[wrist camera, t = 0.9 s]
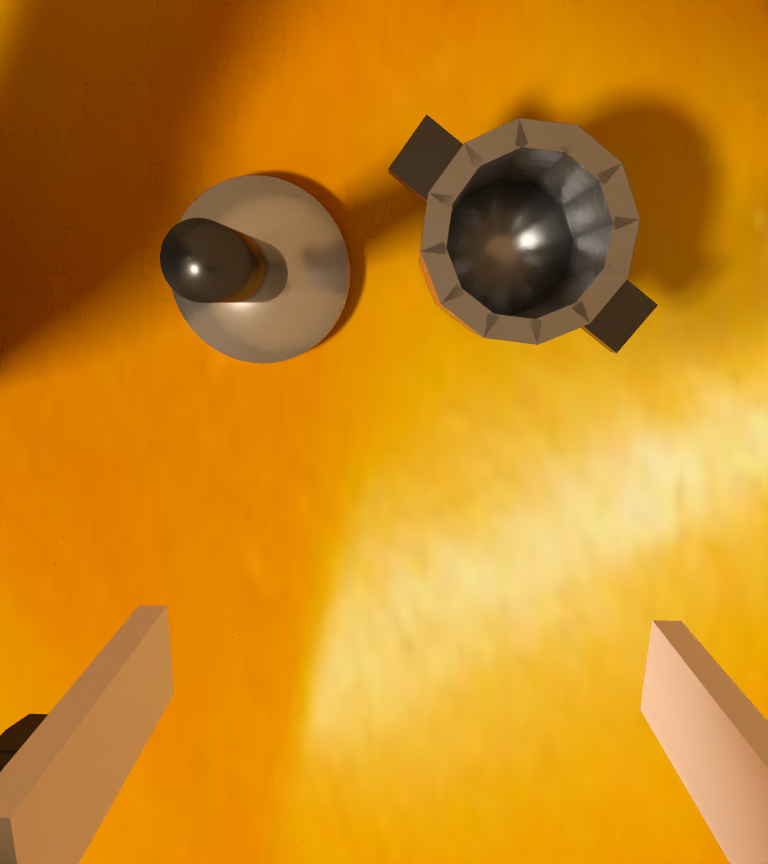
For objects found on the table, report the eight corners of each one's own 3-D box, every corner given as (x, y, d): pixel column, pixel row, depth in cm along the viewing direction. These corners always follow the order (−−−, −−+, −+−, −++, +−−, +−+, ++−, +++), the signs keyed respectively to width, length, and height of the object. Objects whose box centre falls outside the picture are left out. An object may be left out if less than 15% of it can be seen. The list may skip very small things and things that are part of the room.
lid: (144, 290, 37) (32, 285, 26) (240, 139, 35) (162, 66, 24) (284, 395, 38) (233, 432, 27) (386, 255, 36) (375, 234, 25)
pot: (358, 243, 36) (343, 227, 28) (460, 99, 34) (475, 38, 26) (541, 387, 37) (575, 410, 30) (650, 257, 35) (718, 244, 28)
